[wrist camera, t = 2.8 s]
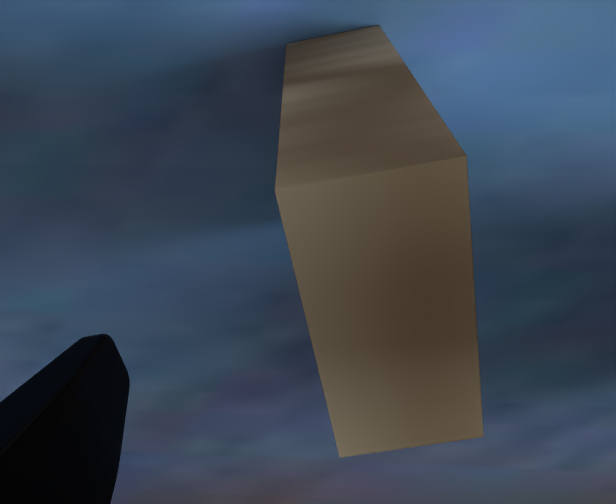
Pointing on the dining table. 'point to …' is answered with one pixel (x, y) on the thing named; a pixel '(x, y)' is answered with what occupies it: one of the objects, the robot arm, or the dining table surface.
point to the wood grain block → (379, 244)
